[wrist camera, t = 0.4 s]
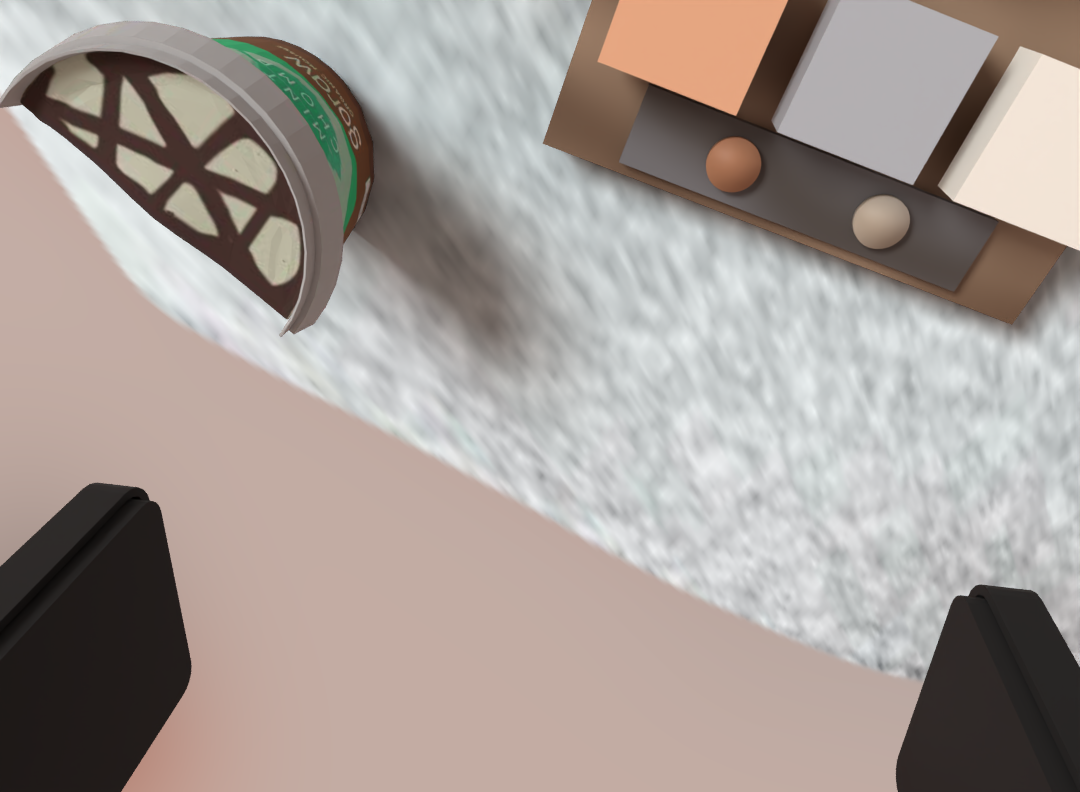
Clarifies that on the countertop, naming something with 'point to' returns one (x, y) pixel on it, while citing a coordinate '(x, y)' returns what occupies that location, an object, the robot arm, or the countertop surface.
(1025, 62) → the cream key
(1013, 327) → the countertop surface
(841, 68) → the grey key
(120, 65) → the food container
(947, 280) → the keypad board
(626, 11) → the terracotta key
